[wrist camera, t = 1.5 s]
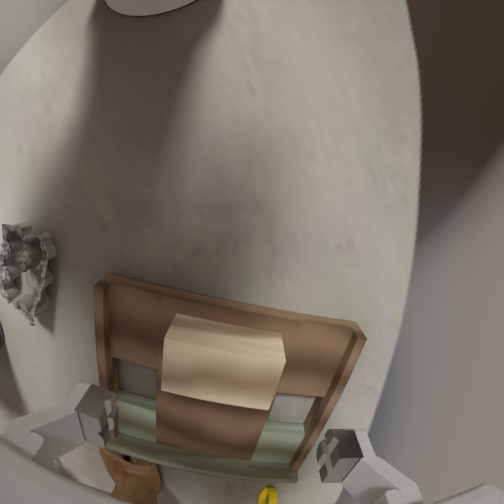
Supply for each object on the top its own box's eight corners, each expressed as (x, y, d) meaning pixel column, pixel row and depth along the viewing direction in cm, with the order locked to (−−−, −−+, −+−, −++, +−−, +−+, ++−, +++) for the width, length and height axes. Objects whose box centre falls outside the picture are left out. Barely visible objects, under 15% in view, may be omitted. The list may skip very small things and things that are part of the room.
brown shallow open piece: (109, 273, 28) (86, 291, 23) (356, 321, 29) (372, 347, 24) (116, 424, 34) (105, 447, 29) (292, 456, 35) (295, 482, 31)
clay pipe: (174, 493, 40) (162, 555, 25) (114, 477, 39) (94, 534, 25) (173, 454, 36) (154, 534, 21) (101, 434, 35) (68, 504, 21)
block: (176, 313, 27) (164, 337, 22) (281, 333, 27) (285, 361, 23) (171, 362, 28) (161, 390, 24) (266, 380, 29) (268, 410, 25)
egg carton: (51, 315, 30) (33, 331, 26) (11, 287, 29) (-7, 299, 25) (64, 239, 27) (42, 249, 23) (21, 213, 26) (-2, 219, 22)
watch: (268, 495, 40) (268, 521, 34) (253, 493, 39) (253, 520, 34) (280, 484, 38) (282, 512, 32) (265, 482, 38) (265, 511, 32)
